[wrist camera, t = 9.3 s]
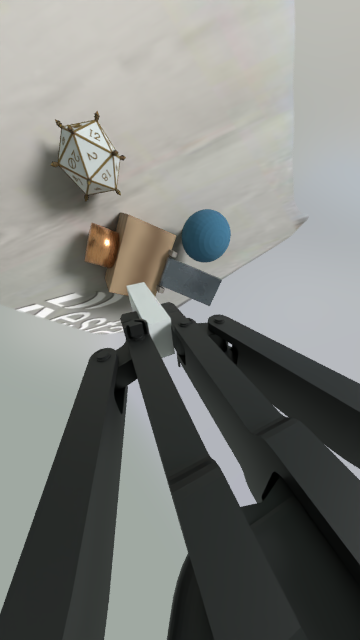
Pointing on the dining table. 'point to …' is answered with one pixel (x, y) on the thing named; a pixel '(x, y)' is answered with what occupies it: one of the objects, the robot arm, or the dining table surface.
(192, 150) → the dining table surface
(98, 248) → the pin
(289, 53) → the dining table surface
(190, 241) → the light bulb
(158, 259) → the hitch block
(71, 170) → the game die
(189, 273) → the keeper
